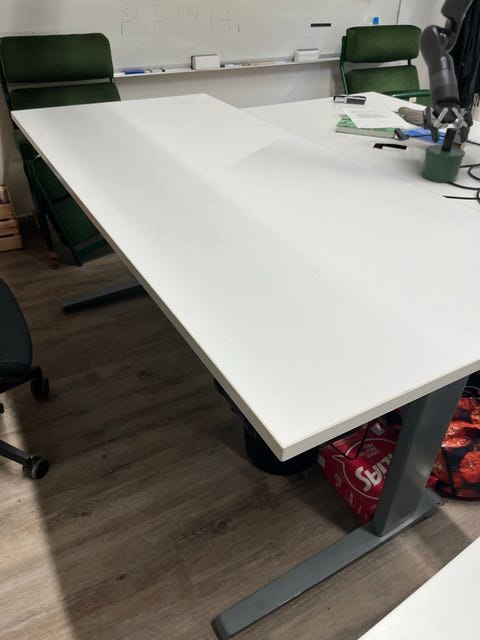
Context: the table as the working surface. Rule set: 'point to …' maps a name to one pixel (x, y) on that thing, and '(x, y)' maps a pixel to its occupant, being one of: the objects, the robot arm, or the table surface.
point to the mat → (397, 146)
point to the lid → (447, 146)
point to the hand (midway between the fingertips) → (450, 141)
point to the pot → (440, 168)
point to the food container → (457, 139)
